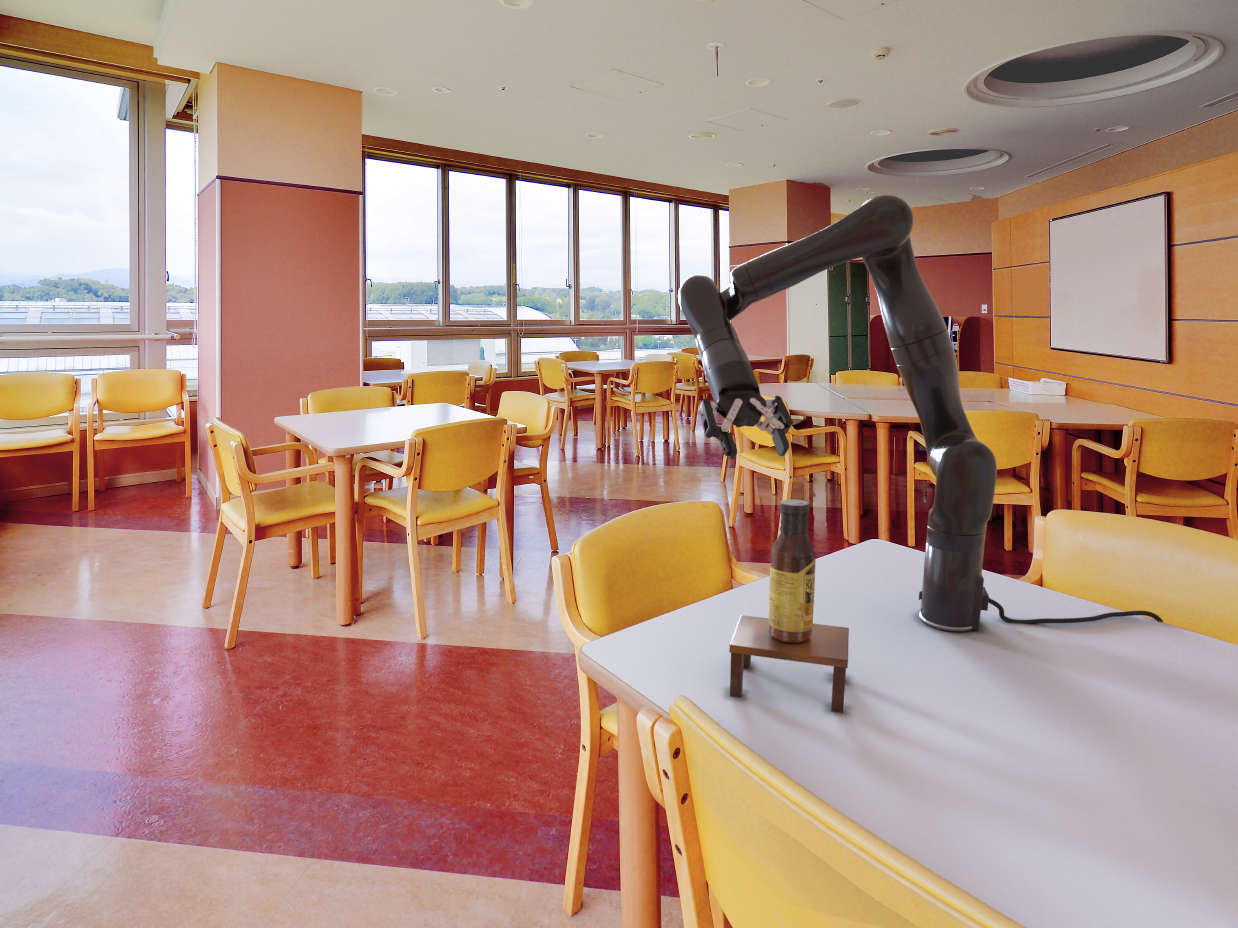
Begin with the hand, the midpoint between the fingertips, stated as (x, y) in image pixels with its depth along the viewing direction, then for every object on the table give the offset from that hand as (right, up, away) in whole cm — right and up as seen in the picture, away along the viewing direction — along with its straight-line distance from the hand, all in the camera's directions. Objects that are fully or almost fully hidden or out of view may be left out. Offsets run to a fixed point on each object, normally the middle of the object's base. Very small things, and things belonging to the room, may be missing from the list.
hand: (759, 454), depth 112 cm
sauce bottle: (+3, -26, -6) cm, 27 cm away
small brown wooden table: (+3, -34, -5) cm, 35 cm away
